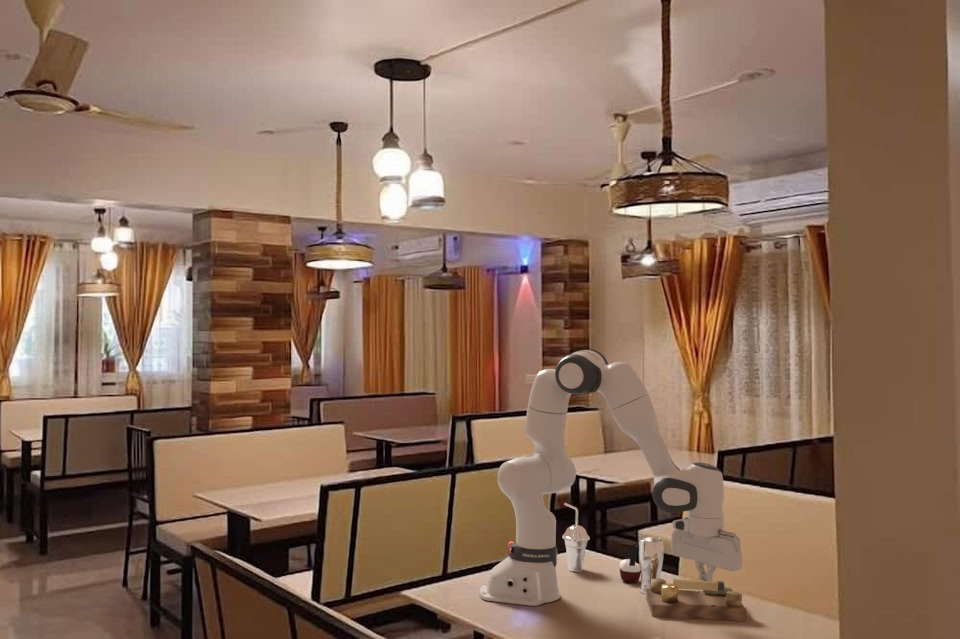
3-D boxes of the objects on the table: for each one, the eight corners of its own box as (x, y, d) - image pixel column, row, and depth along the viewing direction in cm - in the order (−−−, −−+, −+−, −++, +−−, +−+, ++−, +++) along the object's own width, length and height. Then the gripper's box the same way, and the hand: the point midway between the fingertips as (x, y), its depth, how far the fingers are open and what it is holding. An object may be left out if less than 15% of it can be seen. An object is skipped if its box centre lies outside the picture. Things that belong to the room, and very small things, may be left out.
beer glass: (662, 596, 232) (664, 543, 232) (637, 594, 233) (638, 541, 233) (662, 589, 238) (663, 537, 239) (638, 587, 240) (639, 535, 240)
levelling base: (652, 616, 215) (652, 593, 215) (646, 599, 229) (646, 577, 229) (745, 621, 213) (746, 597, 213) (734, 603, 227) (734, 581, 227)
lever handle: (662, 601, 217) (662, 581, 217) (660, 596, 221) (660, 576, 221) (725, 605, 215) (725, 584, 215) (721, 599, 220) (721, 579, 220)
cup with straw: (567, 574, 251) (568, 508, 251) (557, 566, 260) (558, 502, 260) (593, 572, 253) (594, 507, 254) (582, 564, 262) (583, 501, 262)
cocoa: (621, 577, 250) (621, 537, 251) (642, 579, 248) (642, 539, 249) (617, 585, 241) (616, 543, 242) (638, 586, 239) (638, 545, 240)
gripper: (747, 532, 206) (747, 588, 206) (683, 518, 223) (682, 569, 222) (731, 535, 202) (731, 592, 202) (667, 520, 219) (667, 573, 218)
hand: (705, 580), depth 212 cm, fingers closed
